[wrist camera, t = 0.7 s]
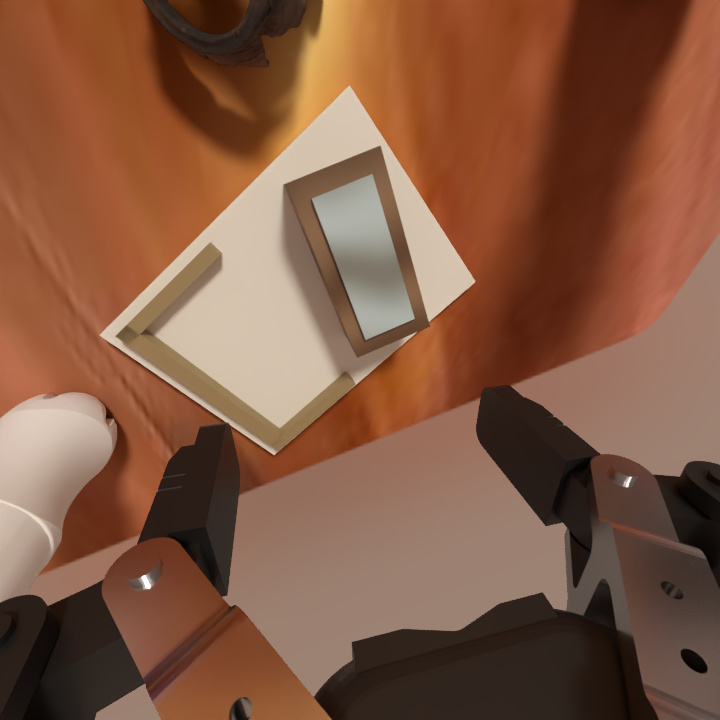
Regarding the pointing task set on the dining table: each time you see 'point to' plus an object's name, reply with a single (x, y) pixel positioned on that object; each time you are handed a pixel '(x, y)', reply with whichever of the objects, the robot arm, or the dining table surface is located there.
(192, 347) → the wall board
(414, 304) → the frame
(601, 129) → the dining table surface
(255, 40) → the pottery mug
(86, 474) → the water bottle
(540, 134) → the dining table surface
